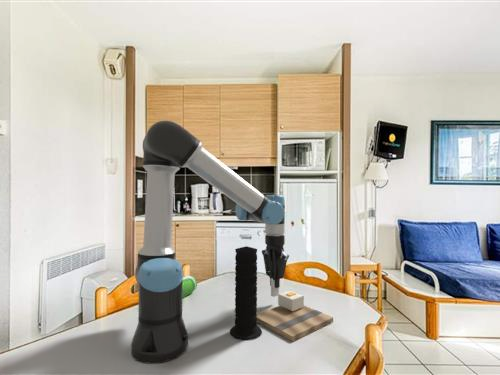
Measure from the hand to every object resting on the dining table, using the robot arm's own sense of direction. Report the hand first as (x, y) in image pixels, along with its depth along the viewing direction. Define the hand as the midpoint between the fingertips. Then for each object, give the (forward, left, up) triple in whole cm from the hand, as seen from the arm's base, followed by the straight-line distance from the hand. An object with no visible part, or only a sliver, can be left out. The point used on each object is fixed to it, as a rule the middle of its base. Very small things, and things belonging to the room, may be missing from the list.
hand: (274, 295), depth 108 cm
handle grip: (-22, -10, -4) cm, 24 cm away
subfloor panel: (-5, -14, -3) cm, 15 cm away
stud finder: (0, -8, -1) cm, 9 cm away
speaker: (-27, +29, -4) cm, 40 cm away
